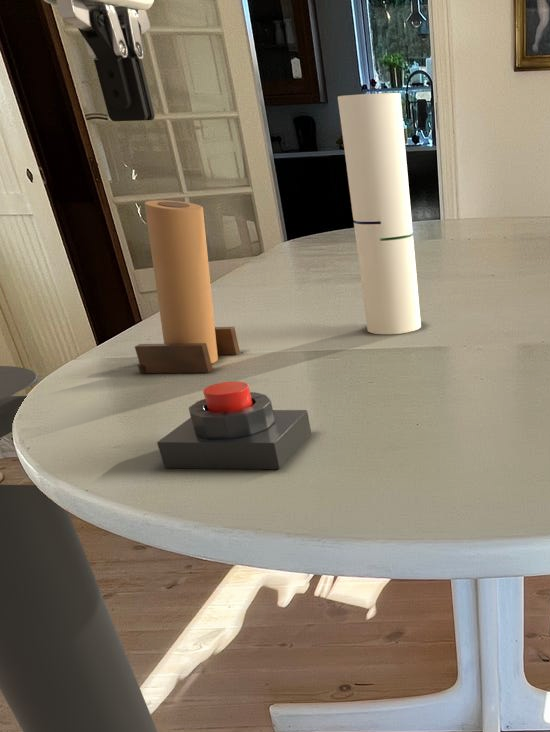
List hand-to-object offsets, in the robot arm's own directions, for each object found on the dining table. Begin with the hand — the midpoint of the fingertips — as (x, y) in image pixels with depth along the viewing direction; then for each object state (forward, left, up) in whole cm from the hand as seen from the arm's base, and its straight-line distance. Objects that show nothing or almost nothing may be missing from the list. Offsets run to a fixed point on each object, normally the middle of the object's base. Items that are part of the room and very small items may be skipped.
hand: (132, 120), depth 61 cm
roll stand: (-9, +16, -24) cm, 30 cm away
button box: (+9, -12, -24) cm, 28 cm away
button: (+9, -12, -20) cm, 25 cm away
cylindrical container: (+12, +32, -24) cm, 41 cm away
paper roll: (-9, +16, -23) cm, 29 cm away
